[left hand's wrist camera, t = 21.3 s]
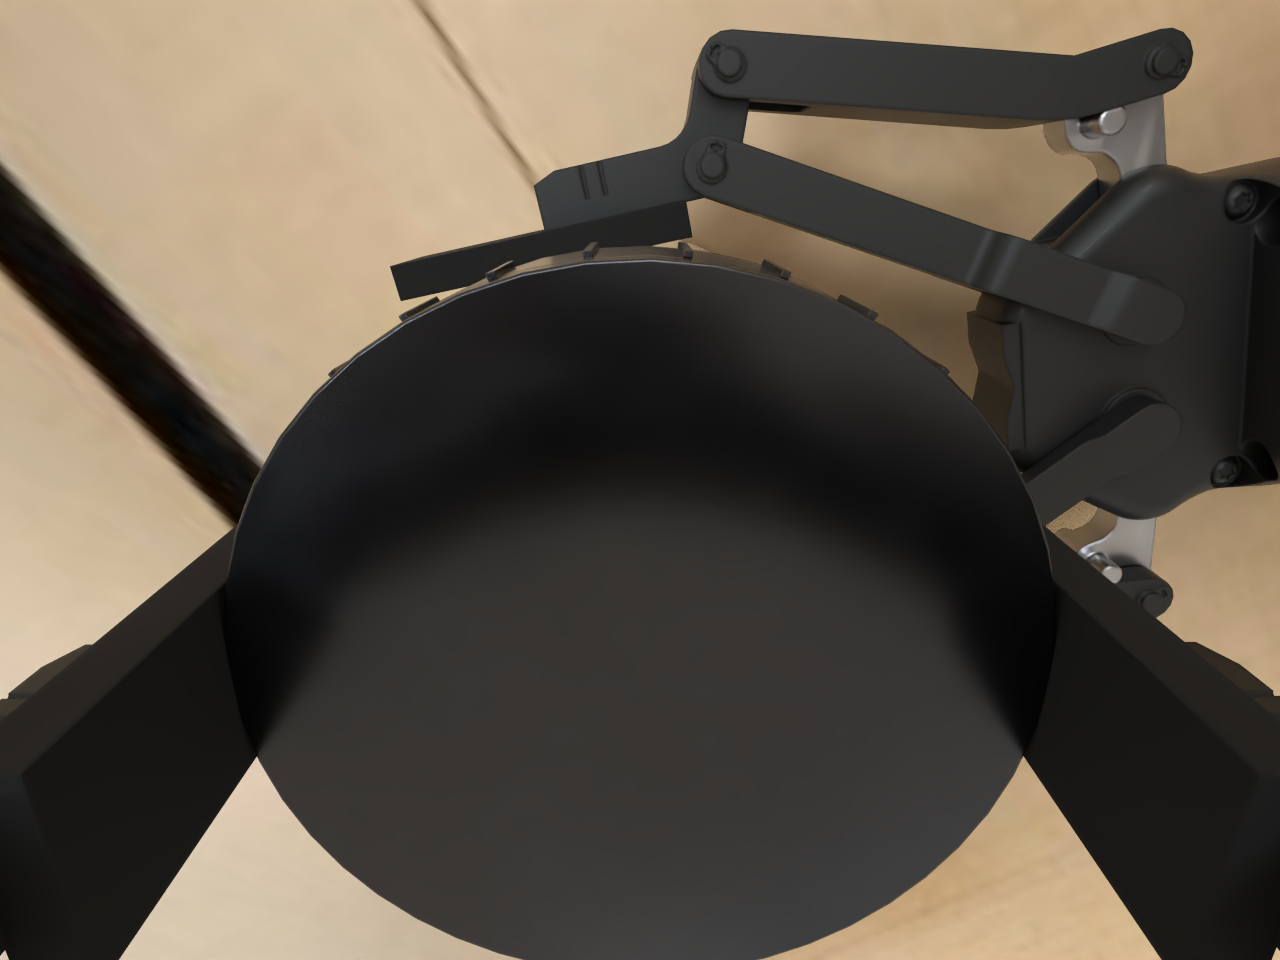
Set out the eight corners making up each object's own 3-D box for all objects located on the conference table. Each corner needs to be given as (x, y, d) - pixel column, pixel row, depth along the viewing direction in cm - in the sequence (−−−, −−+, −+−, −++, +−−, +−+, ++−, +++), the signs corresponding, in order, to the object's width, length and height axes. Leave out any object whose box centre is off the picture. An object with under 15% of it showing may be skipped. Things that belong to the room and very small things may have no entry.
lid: (788, 939, 15) (811, 1054, 13) (214, 749, 13) (139, 846, 11) (1142, 435, 11) (1247, 486, 9) (412, 93, 10) (355, 69, 8)
